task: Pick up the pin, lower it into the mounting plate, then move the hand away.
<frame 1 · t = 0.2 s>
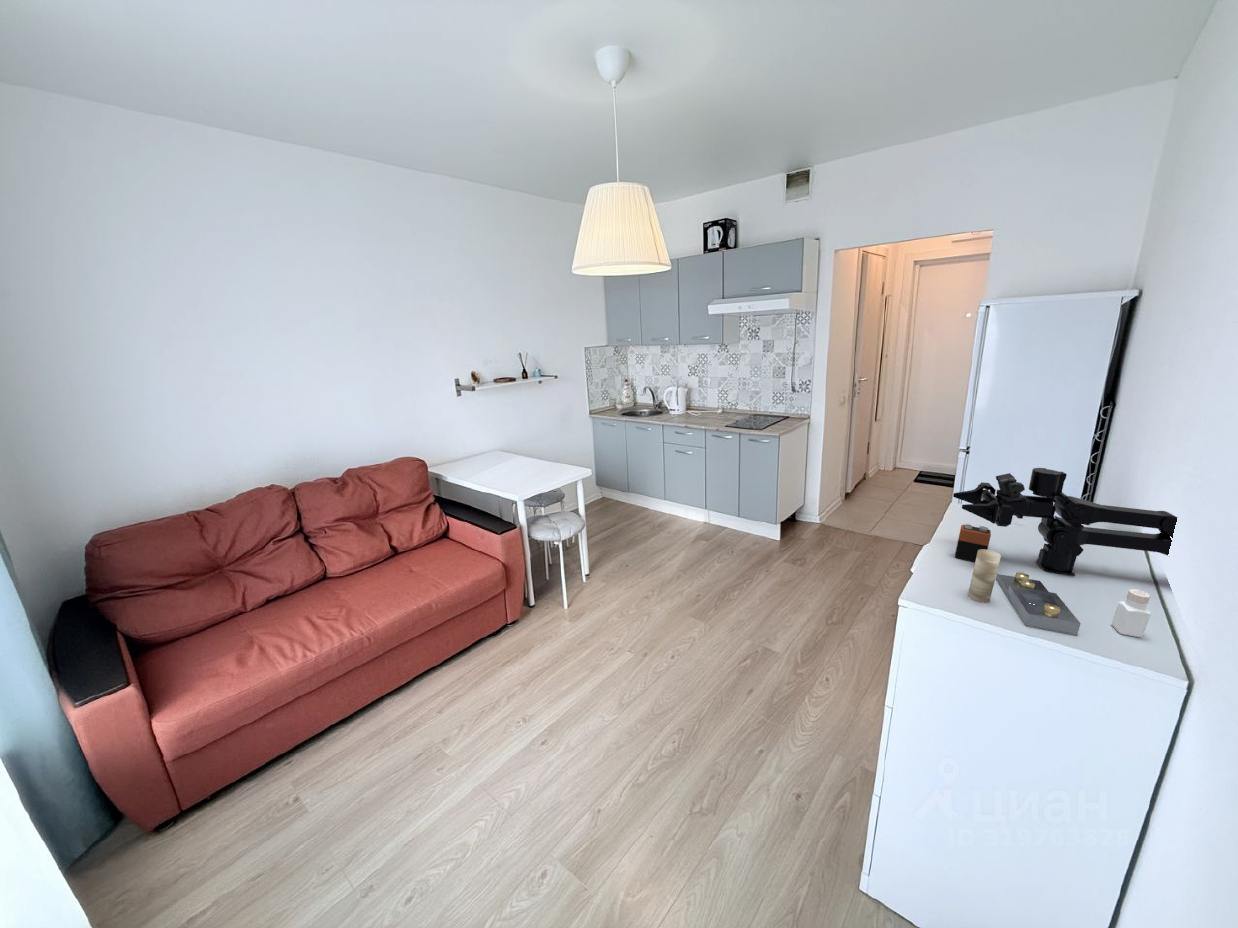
hand: (957, 500, 136), 16 cm above the table, tool horizontal, fingers open, 9 cm apart
mounting plate: (1037, 611, 112), on the table
salt shaker: (1125, 632, 105), on the table
pin: (978, 597, 118), on the table
battery: (969, 559, 137), on the table
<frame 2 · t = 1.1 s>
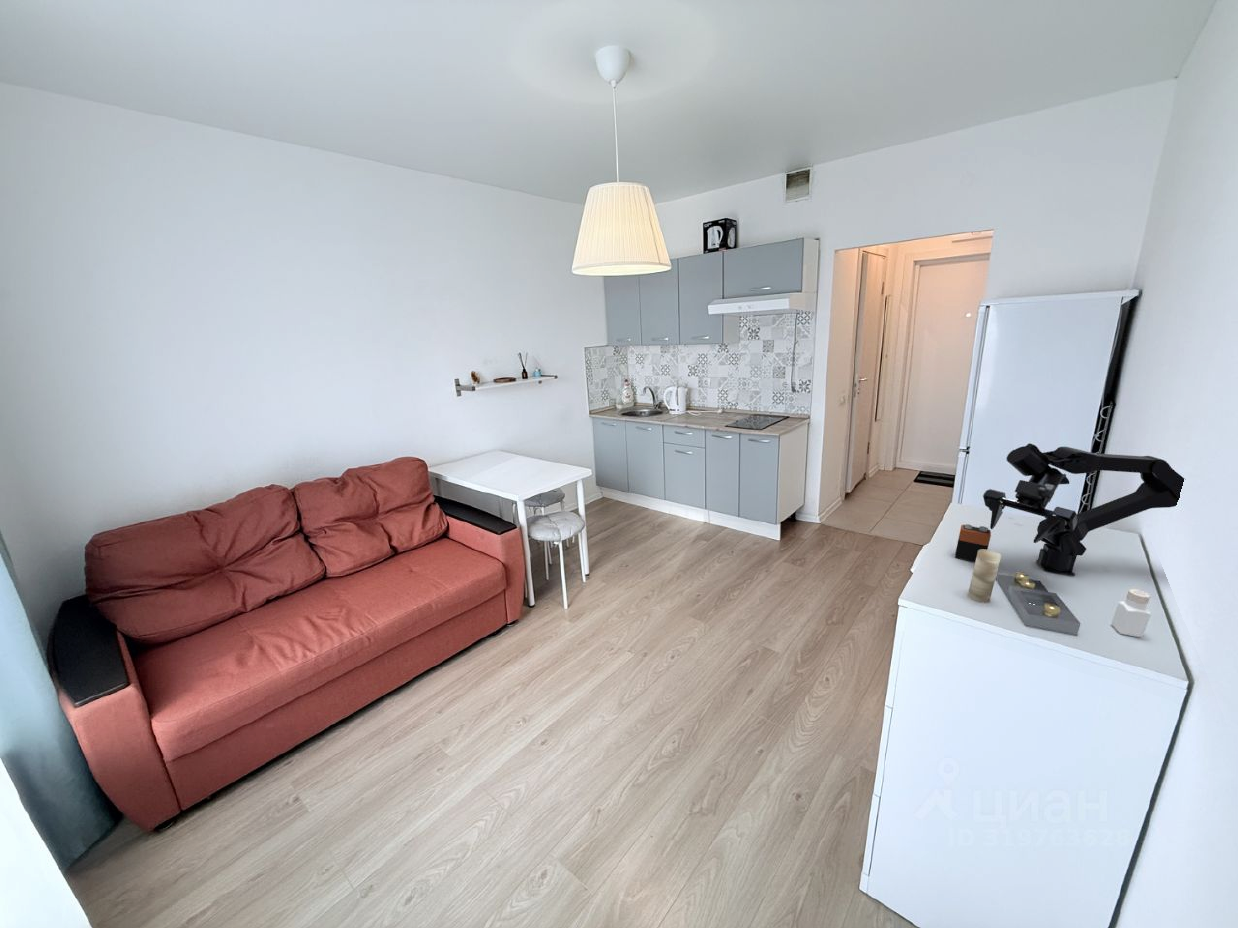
hand: (1012, 534, 122), 13 cm above the table, tool tilted 45°, fingers open, 9 cm apart
nothing on the table moved.
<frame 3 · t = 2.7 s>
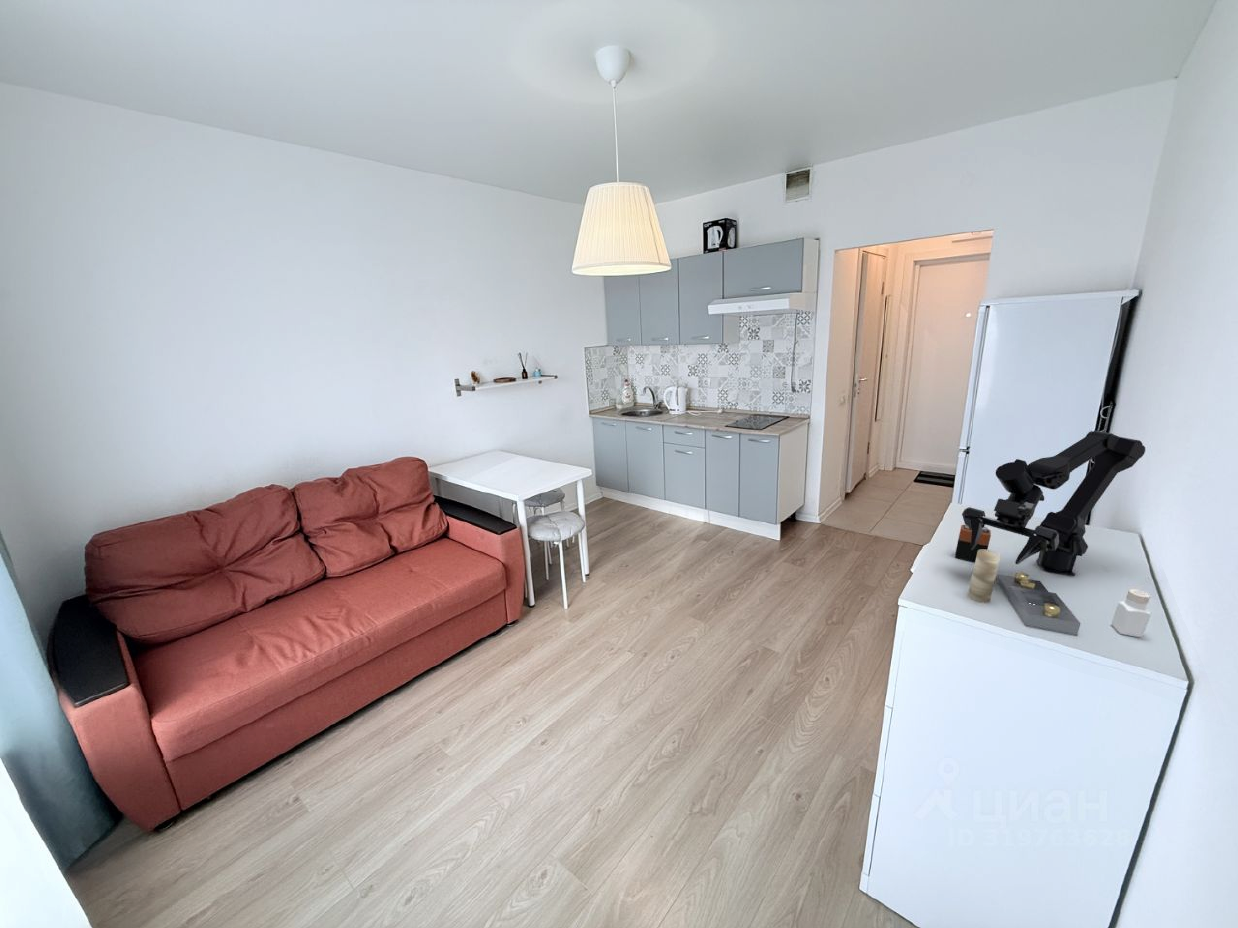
hand: (993, 555, 117), 10 cm above the table, tool tilted 45°, fingers open, 9 cm apart
nothing on the table moved.
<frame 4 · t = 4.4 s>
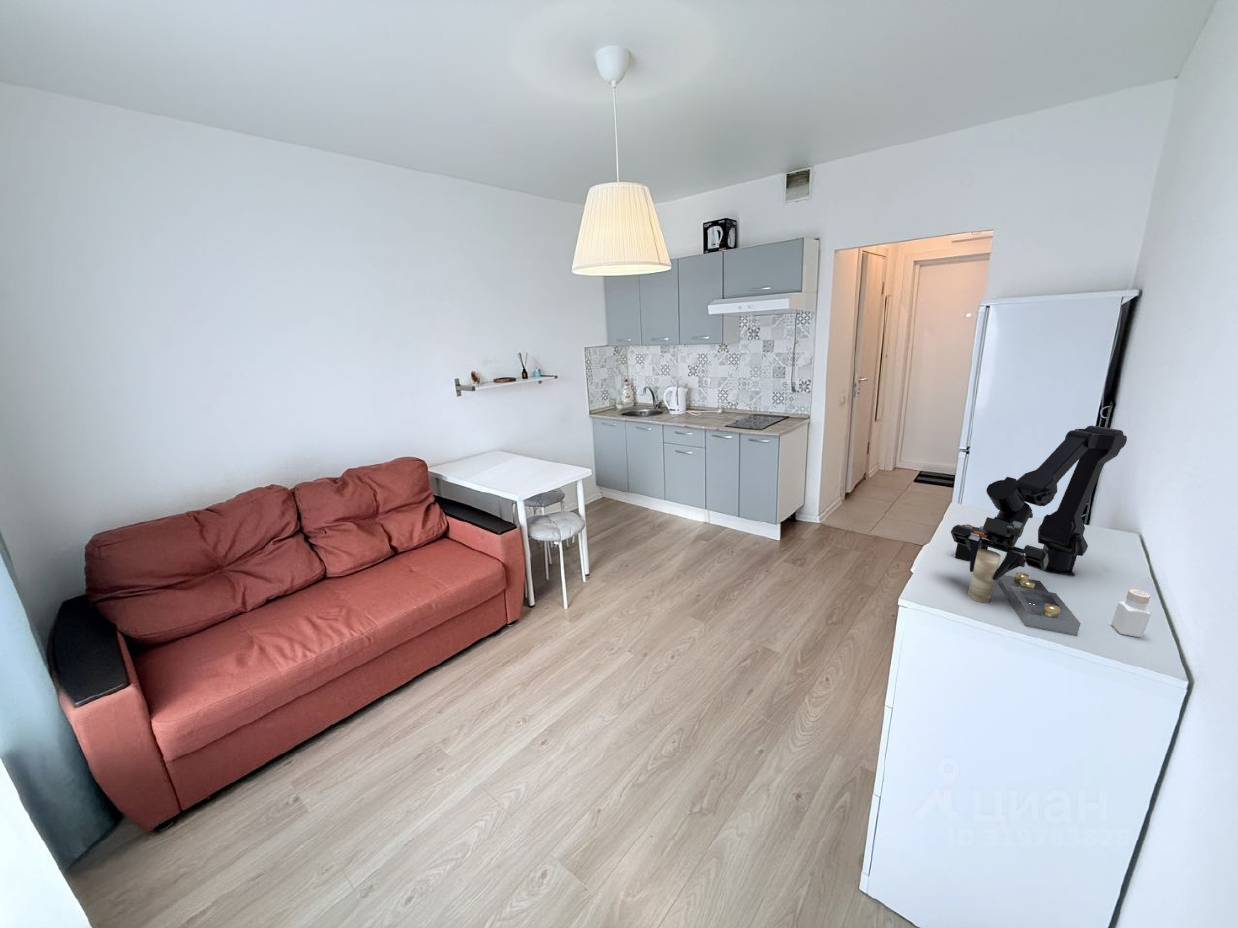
hand: (982, 575, 115), 7 cm above the table, tool tilted 45°, fingers closed on pin, 4 cm apart
pin: (978, 597, 118), on the table, touching gripper
everything else where it was.
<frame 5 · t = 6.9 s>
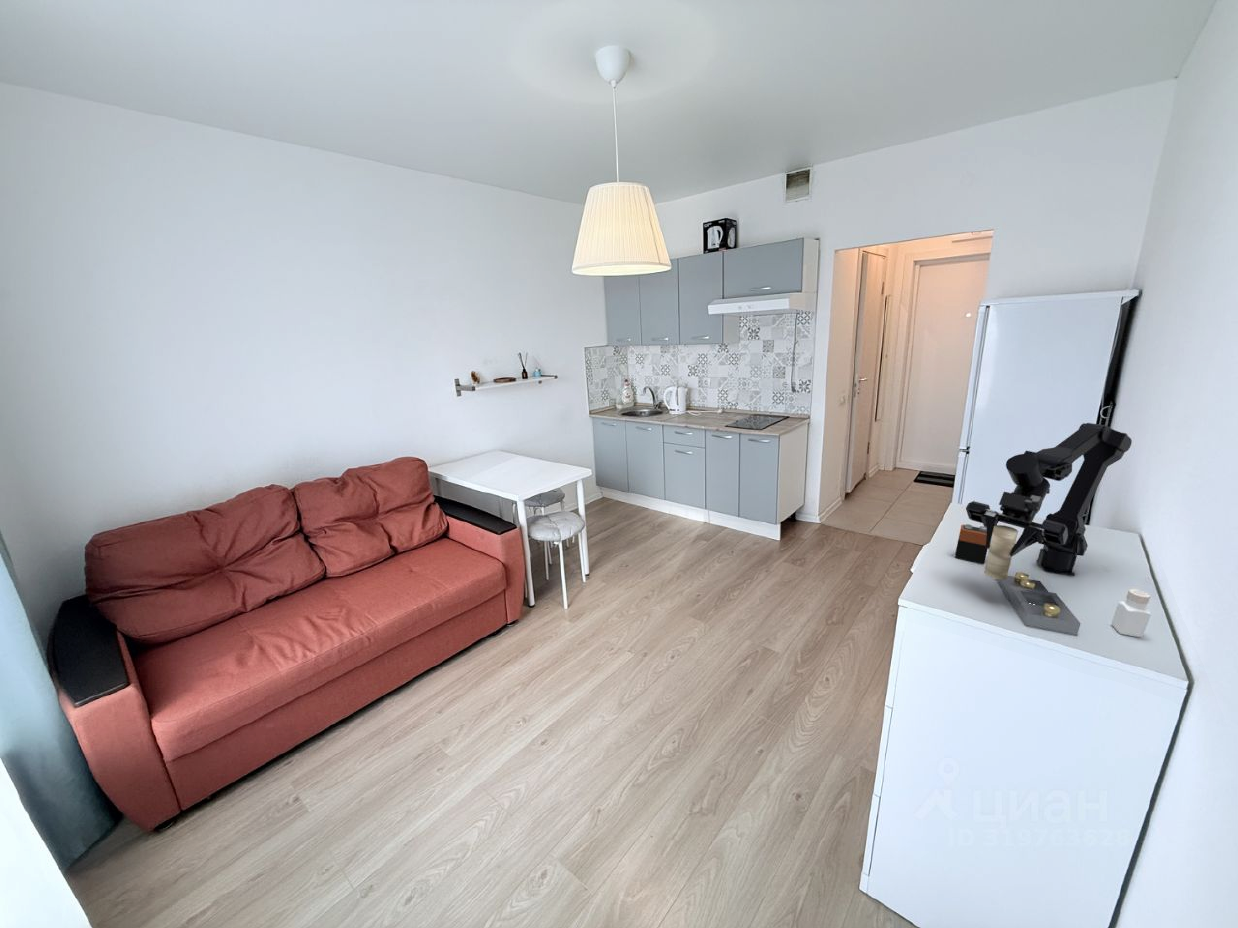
hand: (998, 551, 112), 13 cm above the table, tool tilted 45°, fingers closed on pin, 4 cm apart
pin: (995, 574, 115), point 7 cm above the table, touching gripper
everything else where it was.
when the fingers open (8 cm above the table, at t = 9.6 s): pin stays where it is, resting in mounting plate.
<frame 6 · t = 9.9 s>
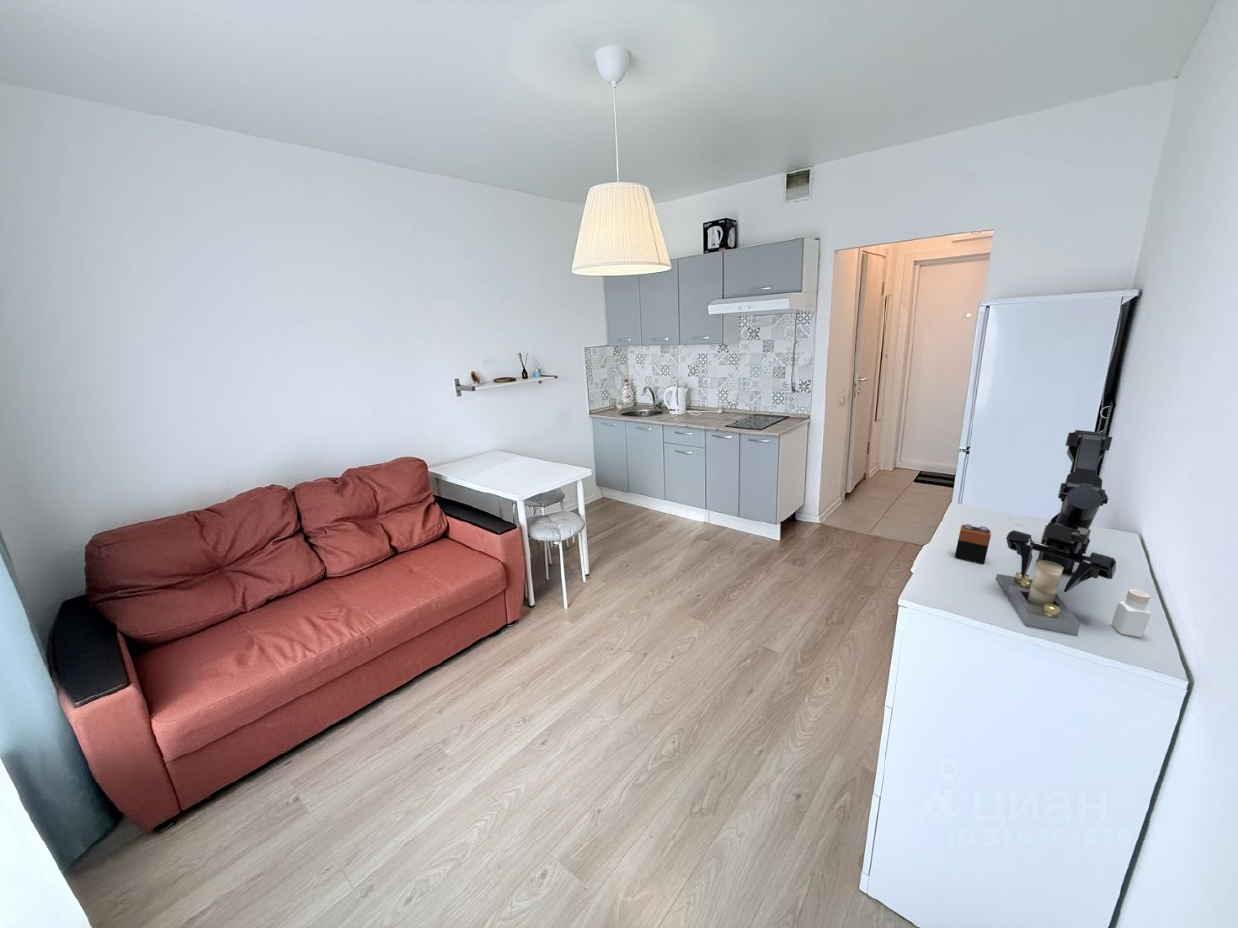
hand: (1043, 584, 109), 8 cm above the table, tool tilted 45°, fingers open, 7 cm apart
pin: (1037, 610, 112), resting in mounting plate
everything else where it was.
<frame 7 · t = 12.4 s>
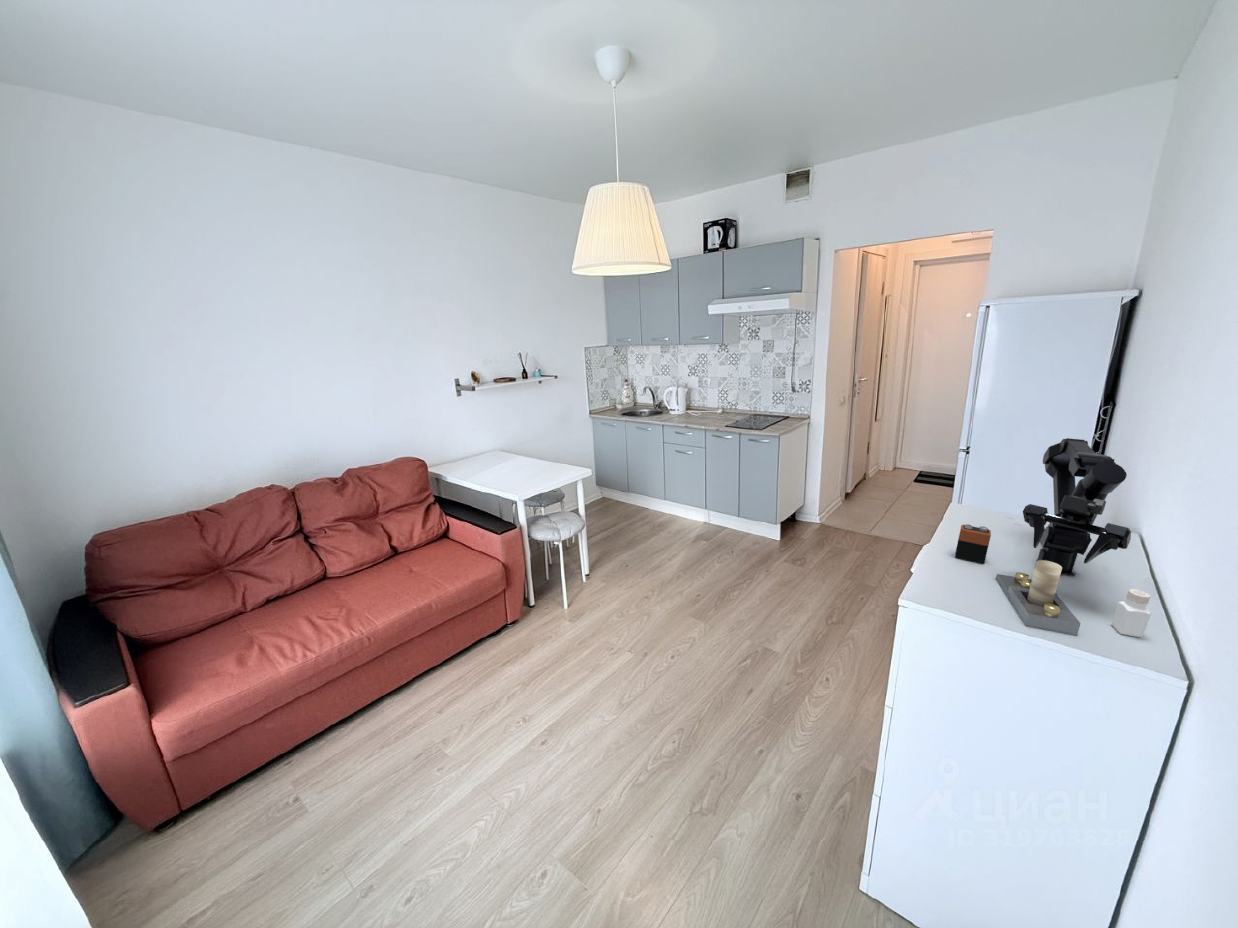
hand: (1058, 554, 113), 12 cm above the table, tool tilted 45°, fingers open, 9 cm apart
nothing on the table moved.
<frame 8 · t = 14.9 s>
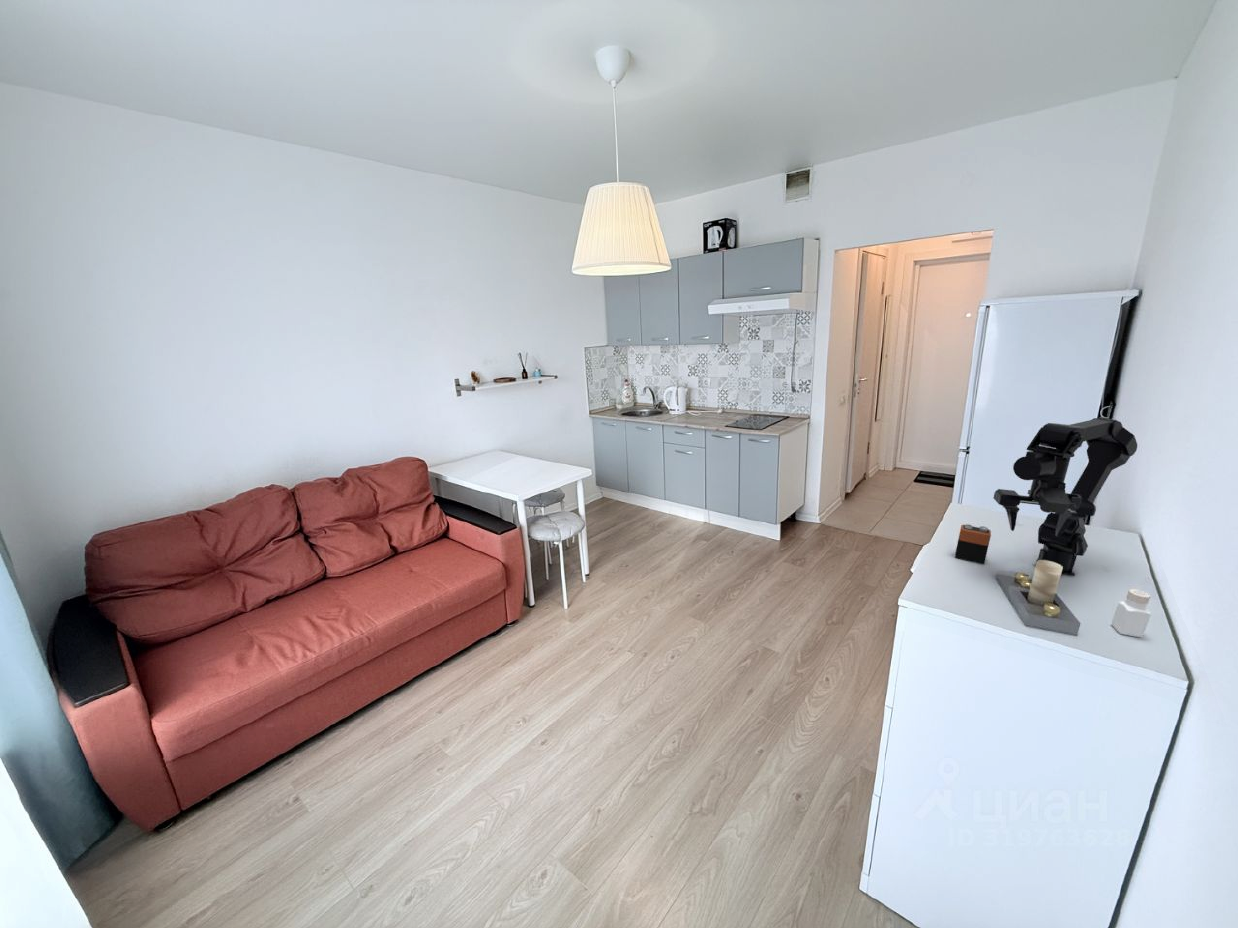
hand: (1034, 533, 123), 13 cm above the table, tool pointing down, fingers open, 9 cm apart
nothing on the table moved.
at the end: pin 0.0 cm off-centre on the mounting plate, point 0.0 cm above the mounting plate's base; pin tilted 1°; the gripper is holding nothing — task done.
